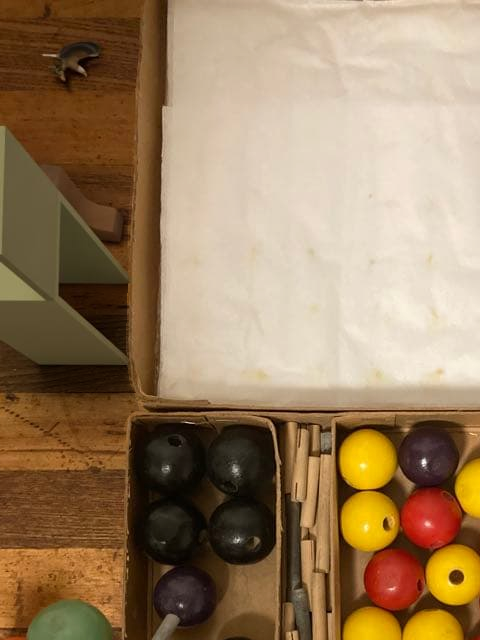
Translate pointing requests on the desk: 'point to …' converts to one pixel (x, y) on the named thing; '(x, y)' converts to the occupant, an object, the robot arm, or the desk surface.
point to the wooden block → (86, 206)
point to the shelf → (47, 267)
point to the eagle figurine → (73, 57)
